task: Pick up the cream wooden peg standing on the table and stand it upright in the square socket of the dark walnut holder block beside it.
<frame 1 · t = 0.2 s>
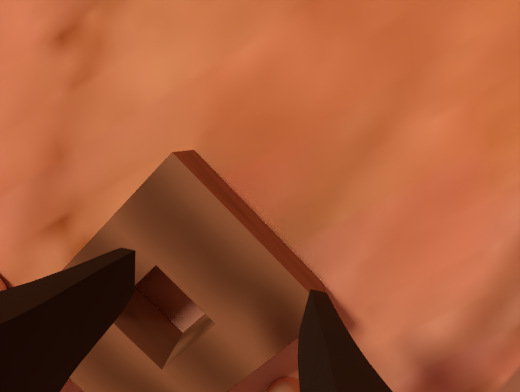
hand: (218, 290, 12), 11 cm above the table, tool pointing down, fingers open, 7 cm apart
walnut holder: (180, 290, 24), on the table
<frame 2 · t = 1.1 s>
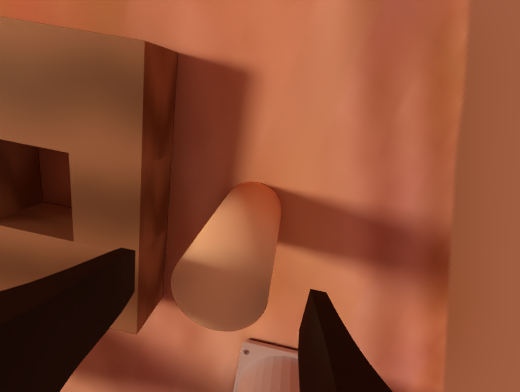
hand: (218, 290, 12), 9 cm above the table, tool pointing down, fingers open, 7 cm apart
cream peg: (252, 209, 20), on the table
walnut holder: (75, 173, 21), on the table
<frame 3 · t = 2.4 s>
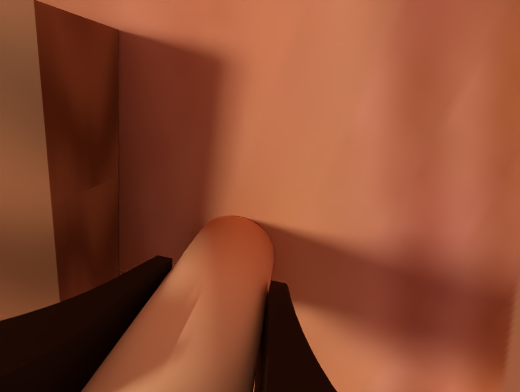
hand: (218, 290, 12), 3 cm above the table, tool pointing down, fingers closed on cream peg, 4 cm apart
cream peg: (233, 253, 15), on the table, touching gripper
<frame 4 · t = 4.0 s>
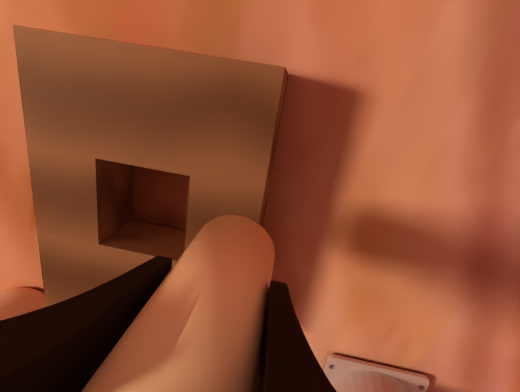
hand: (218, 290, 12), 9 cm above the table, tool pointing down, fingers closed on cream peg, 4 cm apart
cream peg: (234, 252, 14), point 7 cm above the table, touching gripper
milk bottle: (39, 318, 27), on the table
walnut holder: (169, 191, 21), on the table
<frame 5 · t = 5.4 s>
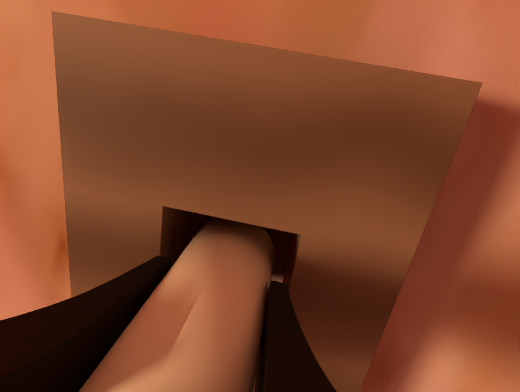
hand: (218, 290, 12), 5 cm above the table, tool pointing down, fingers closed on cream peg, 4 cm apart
cream peg: (233, 251, 14), point 2 cm above the table, touching gripper
walnut holder: (240, 236, 16), on the table
when the fingers open (5 cm above the table, at t = 6.1 s): cream peg drops 2 cm, resting in walnut holder.
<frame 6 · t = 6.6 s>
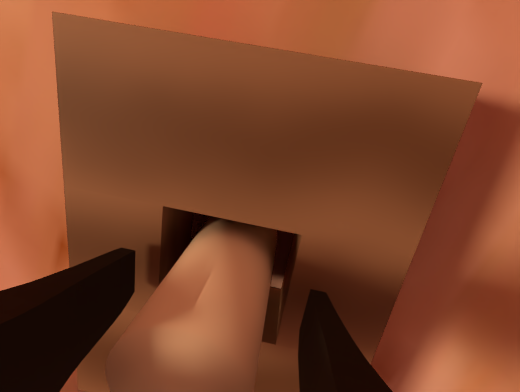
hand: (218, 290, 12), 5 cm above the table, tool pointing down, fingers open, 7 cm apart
cream peg: (241, 235, 16), resting in walnut holder
walnut holder: (240, 236, 16), on the table
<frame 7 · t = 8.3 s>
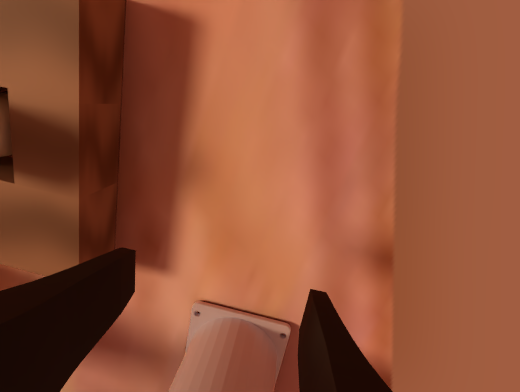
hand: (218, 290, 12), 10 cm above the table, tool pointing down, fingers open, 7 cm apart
cream peg: (27, 122, 21), resting in walnut holder
walnut holder: (26, 123, 21), on the table
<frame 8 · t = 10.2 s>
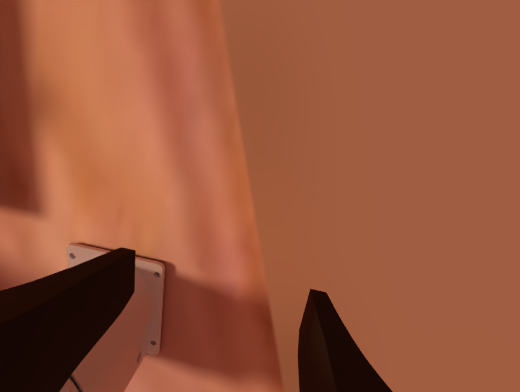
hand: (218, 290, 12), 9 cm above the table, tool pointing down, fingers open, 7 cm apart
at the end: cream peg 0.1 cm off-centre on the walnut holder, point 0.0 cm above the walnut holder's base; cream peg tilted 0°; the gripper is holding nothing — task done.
